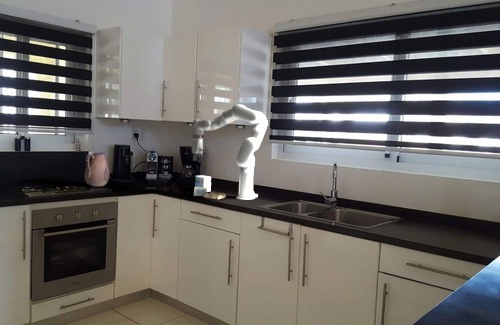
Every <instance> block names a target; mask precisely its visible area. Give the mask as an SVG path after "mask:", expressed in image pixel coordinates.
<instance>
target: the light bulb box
mask: <svg viewBox="0 0 500 325" xmlns="http://www.w3.org/2000/svg"><path fill="white" fill-rule="evenodd" d="M211 180H212V176H207V175H203V174H202V175H195V182H194V184H195V186H194V188H195V187H206V188H208V191H207V192H211V186H212V182H211Z"/></svg>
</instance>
